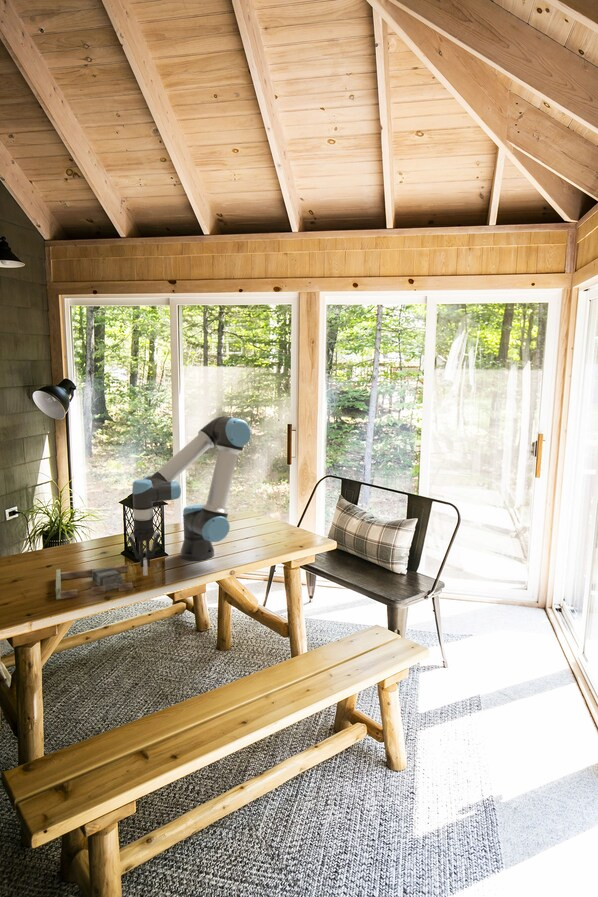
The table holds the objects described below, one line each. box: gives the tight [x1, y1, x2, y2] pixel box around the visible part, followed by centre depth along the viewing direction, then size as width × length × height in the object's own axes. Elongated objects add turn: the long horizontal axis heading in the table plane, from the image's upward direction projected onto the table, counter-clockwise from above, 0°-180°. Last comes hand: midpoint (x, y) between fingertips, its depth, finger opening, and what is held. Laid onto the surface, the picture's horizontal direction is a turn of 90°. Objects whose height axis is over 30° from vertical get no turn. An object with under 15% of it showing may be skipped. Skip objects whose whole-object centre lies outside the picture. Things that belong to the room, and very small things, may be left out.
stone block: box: [91, 566, 124, 592], centre depth 244 cm, size 9×14×5 cm, turn 35°
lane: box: [55, 564, 133, 600], centre depth 243 cm, size 28×23×4 cm
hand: (145, 574), depth 250 cm, fingers closed
